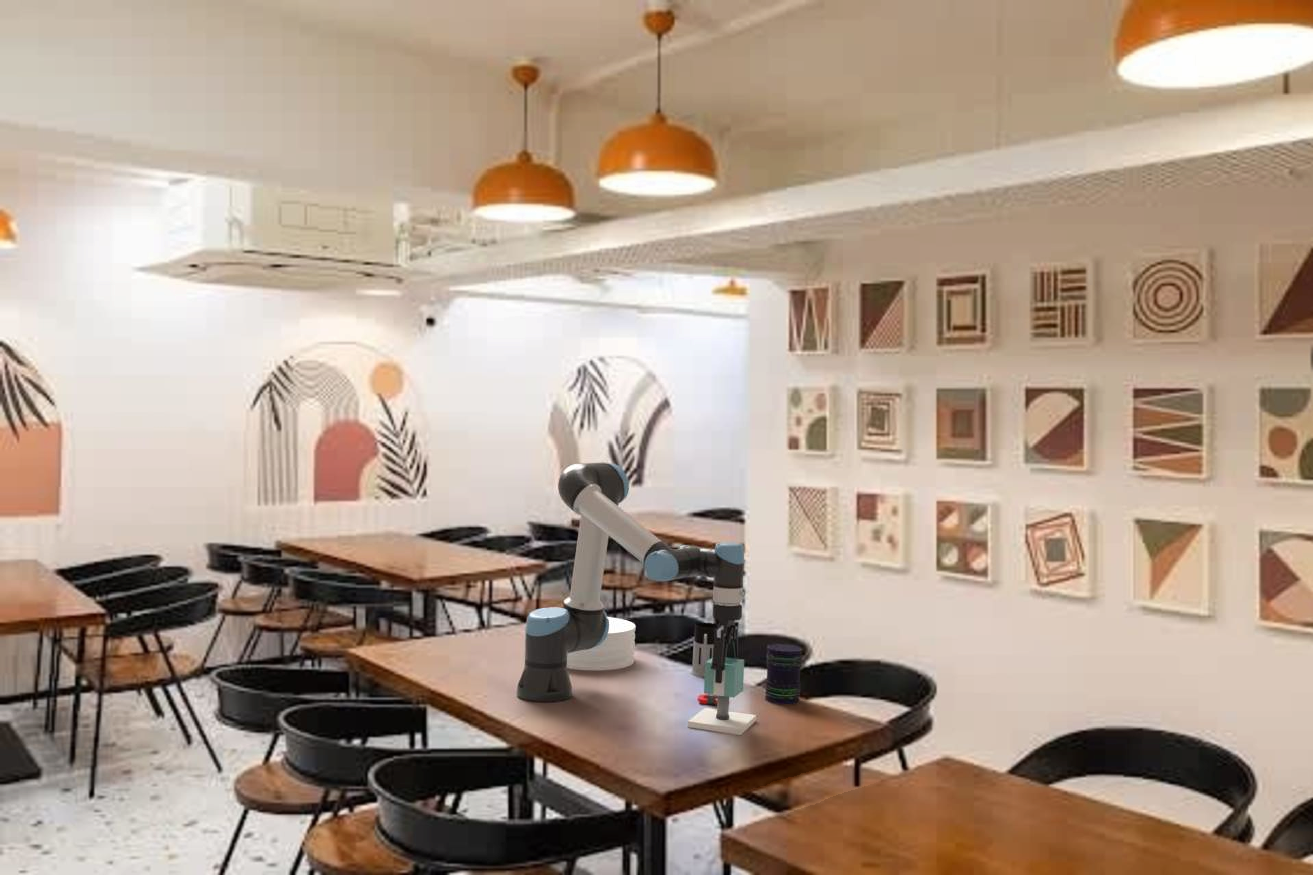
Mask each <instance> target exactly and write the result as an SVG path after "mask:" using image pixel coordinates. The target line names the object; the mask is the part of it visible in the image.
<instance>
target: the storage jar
mask: <svg viewBox="0 0 1313 875" xmlns="http://www.w3.org/2000/svg"><path fill="white" fill-rule="evenodd" d="M802 651H803V648H802V647H801V646H799V645H797V644H793V643H792V644H789V643H771V644H768V645H767V651H766V653H767V654H766V667H767V669H766V670H767V671H766V679H765V687H764V690H765V691H764V692H765V696H764V700H765V701H766V702H769V703H771V704H774V705H775V704H776V705H786V706H790V705H796V704H799V703H800V697H801V696H800V695H801V694H800V693H801V681H800V678H801V669H802V662H803V660H802V659H803V657H802V654H803V653H802Z"/></svg>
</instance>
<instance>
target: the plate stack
mask: <svg viewBox="0 0 1313 875" xmlns="http://www.w3.org/2000/svg"><path fill="white" fill-rule="evenodd" d="M607 618H608V619H609V631H608V635H607V637H606V639H605V640H604V641H603V642H602V643H601V644H600V645H598V646H596V647H593V648H591V649H588V650H581V651H576V652H571V653H567V669H570V670H576V671H577V670H579V671H610V670H611V671H612V670H617V669H623V668H627V667H630V666H632V665H633V664H634V663H635V646H636V645H635V644H636V642H635V639H636V633H635V632H636V627H637V626H636V624H635V623H634V622H632V621H629V620H626V619H623V618H617V617H611V616H607ZM633 662H634V663H633Z"/></svg>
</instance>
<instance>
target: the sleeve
mask: <svg viewBox="0 0 1313 875" xmlns="http://www.w3.org/2000/svg"><path fill="white" fill-rule="evenodd" d="M711 666H712V658H711V659H710V660H708V661H706V662H705V677H704V685H703V693H704V694H712V695H713V692H714V669H711ZM724 670H725V694H724V696H726V697H729V698H735V697H737V696H738V695H739V694H741V692H743V691H744V677H745V676H744V675H745V674H744V673H745V659H741V658H740V659H739V658H736V659H734V658H726V660H725V667H724Z"/></svg>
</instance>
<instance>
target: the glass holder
mask: <svg viewBox="0 0 1313 875" xmlns="http://www.w3.org/2000/svg"><path fill="white" fill-rule="evenodd" d="M718 626H719V623H718V624H717V623H712V622H698V623H697V622H696V623H694V638H693V647H692V648H693V649H692V650H693V651H692V652H693V653H692V668H691V672H690V674H691V675H692V676H694V677H698V678H705V662H706V661H708V660H710V659H711V658H713V647H714V630H715V629H717V627H718Z"/></svg>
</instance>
